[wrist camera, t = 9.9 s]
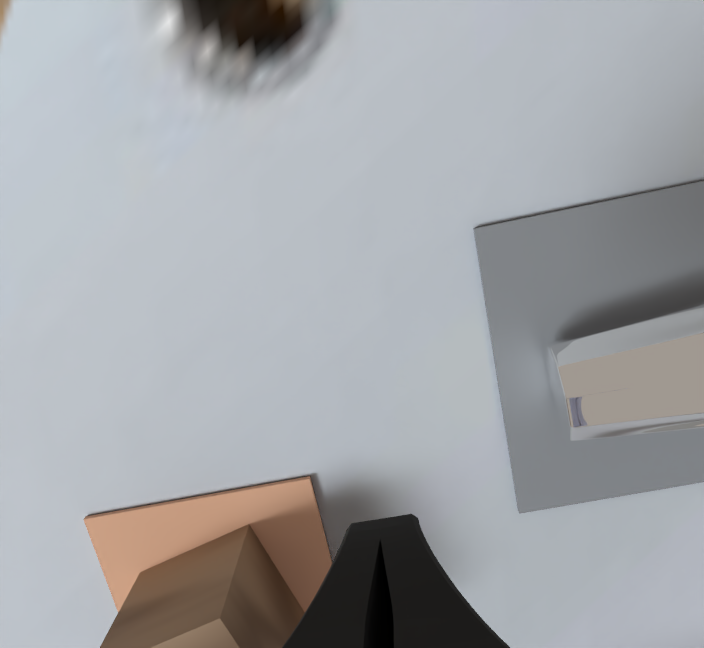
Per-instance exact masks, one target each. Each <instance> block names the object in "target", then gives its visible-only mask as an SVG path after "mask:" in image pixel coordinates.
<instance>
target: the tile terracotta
mask: <svg viewBox="0 0 704 648" xmlns="http://www.w3.org/2000/svg"><path fill="white" fill-rule="evenodd" d="M84 522H85V525H86V527H87V530H88V533H89V535H90V538H91V541H92V543H93V546H94V549H95V551H96V554H97V557H98V560H99V562H100V565H101V568H102V570H103V573H104V576H105V578H106V581H107V584H108V586H109V589H110V592H111V594H112V597H113V600H114V602H115V605H116V608H117V610H118V613H119V611H120V609H121V607H122V605H123V603H124V601H125V599H126V598H127V596H128V594H129V592H130V590H131V588H132V586H133V584H134V583H135V581H136V579H137V577H138V575H139V573H140V572H142V571H144V570H146V569H149V568H151V567H153V566H155V565H158V564H160V563H162V562H164V561H167V560H169V559H171V558H173V557H176V556H178V555H180V554H182V553H185V552H187V551H189V550H191V549H194V548H196V547H198V546H200V545H203V544H205V543H207V542H209V541H212V540H214V539H216V538H218V537H221V536H223V535H225V534H227V533H230V532H232V531H234V530H236V529H239V528H241V527H243V526H245V525H248V524H249V525H250V526H251V528H252V529H253V531H254V533H255V534H256V536H257V537H258V539H259V540H260V542H261V544H262V545H263V547H264V548H265V550H266V552H267V553H268V555H269V556H270V558H271V560H272V561H273V563H274V564H275V566H276V568H277V569H278V571H279V572H280V574H281V576H282V577H283V579H284V580H285V582H286V584H287V585H288V587H289V588H290V590H291V591H292V593H293V595H294V596H295V598H296V599H297V601H298V603H299V604H300V606H301V607H302V609H303V611H304V612H306V610H307V608H308V607H309V605H310V604H311V602H312V600H313V599H314V597H315V595H316V593H317V592H318V590H319V588H320V586H321V584H322V582H323V580H324V578H325V576H326V575H327V573H328V571H329V569H330V567H331V565H332V560H331V556H330V552H329V548H328V544H327V540H326V536H325V532H324V528H323V525H322V521H321V517H320V513H319V509H318V505H317V501H316V497H315V493H314V489H313V486H312V482H311V478H310V476H308V477H302V478H297V479H291V480H286V481H280V482H274V483H269V484H263V485H258V486H252V487H247V488H241V489H236V490H230V491H224V492H219V493H213V494H208V495H202V496H197V497H191V498H186V499H180V500H175V501H169V502H163V503H158V504H152V505H147V506H141V507H136V508H130V509H125V510H119V511H114V512H108V513H102V514H97V515H91V516H86V517H85V518H84Z"/></svg>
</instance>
